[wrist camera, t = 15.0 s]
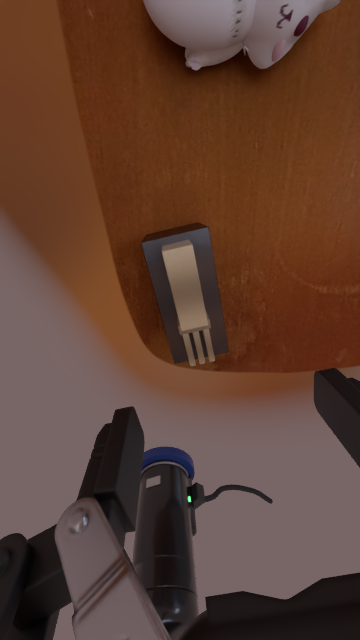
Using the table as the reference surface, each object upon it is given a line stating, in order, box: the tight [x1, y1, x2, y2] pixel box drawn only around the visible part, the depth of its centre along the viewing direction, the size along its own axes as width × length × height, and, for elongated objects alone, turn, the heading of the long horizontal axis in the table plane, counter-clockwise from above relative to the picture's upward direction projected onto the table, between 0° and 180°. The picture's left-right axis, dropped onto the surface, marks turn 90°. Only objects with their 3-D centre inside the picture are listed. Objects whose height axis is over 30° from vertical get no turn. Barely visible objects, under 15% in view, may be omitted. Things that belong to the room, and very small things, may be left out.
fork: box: [162, 240, 215, 366], centre depth 23 cm, size 12×3×3 cm, turn 13°
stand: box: [141, 223, 229, 364], centre depth 27 cm, size 13×6×7 cm, turn 12°
